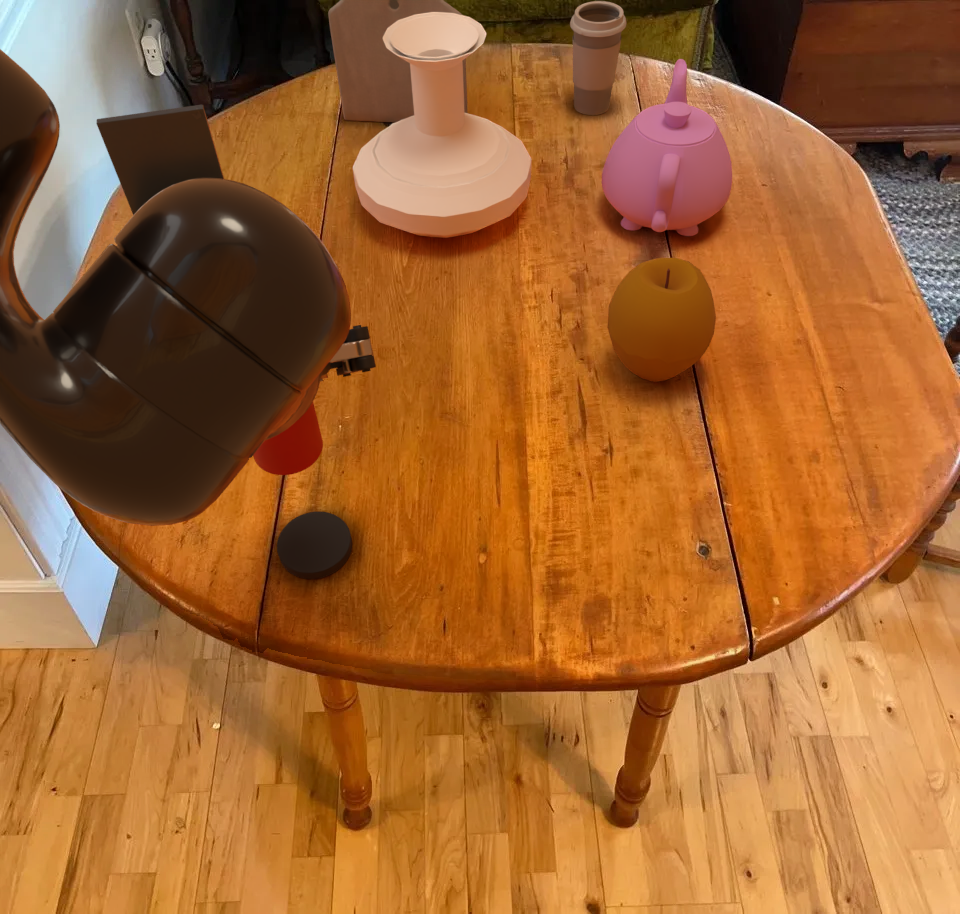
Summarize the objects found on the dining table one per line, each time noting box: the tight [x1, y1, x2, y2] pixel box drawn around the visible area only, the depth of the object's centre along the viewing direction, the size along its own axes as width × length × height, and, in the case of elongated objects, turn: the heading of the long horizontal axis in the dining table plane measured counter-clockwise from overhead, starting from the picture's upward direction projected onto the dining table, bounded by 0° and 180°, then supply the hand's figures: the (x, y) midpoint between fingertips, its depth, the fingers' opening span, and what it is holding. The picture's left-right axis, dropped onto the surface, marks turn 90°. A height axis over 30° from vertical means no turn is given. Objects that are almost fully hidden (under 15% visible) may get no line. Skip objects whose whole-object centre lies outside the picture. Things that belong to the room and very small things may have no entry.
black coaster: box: [276, 511, 353, 580], centre depth 71 cm, size 6×6×1 cm
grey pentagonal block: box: [327, 0, 469, 124], centre depth 107 cm, size 16×8×19 cm, turn 83°
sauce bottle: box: [252, 401, 324, 476], centre depth 58 cm, size 5×5×13 cm
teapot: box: [600, 58, 733, 237], centre depth 95 cm, size 20×14×12 cm
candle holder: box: [351, 12, 533, 239], centre depth 94 cm, size 20×20×19 cm
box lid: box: [96, 104, 225, 216], centre depth 89 cm, size 11×10×1 cm
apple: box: [607, 257, 717, 383], centre depth 79 cm, size 10×10×12 cm
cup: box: [569, 0, 627, 116], centre depth 109 cm, size 7×7×12 cm
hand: (268, 371), depth 59 cm, fingers closed on sauce bottle, 5 cm apart
